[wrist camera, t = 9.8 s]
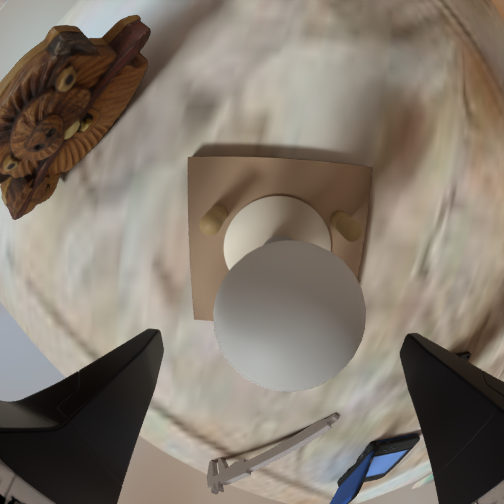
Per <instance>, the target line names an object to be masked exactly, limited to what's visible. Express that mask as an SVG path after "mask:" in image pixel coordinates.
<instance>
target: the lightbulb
mask: <svg viewBox="0 0 504 504" xmlns="http://www.w3.org/2000/svg"><path fill="white" fill-rule="evenodd" d="M213 316H214V331H215V335H216V338H217V341H218V344H219V347H220V349H221V351H222V353H223V355H224V356H225V358H226V360H227V361H228V362H229V363H230V364H231V365H232V366H233V367H234V369H235V370H236V371H237V372H238V373H239V374H240V375H242V376H243V377H245V378H246V379H247V380H249V381H251V382H253V383H255V384H257V385H259V386H261V387H263V388H267V389H270V390H274V391H282V392H295V391H302V390H307V389H310V388H314V387H317V386H319V385H321V384H323V383H325V382H327V381H329V380H330V379H332V378H333V377H335V376H336V375H337V374H338V373H339V372H340V371H341V370H342V369H343V368H344V367H345V366H346V365H347V364H348V363H349V362H350V360H351V359H352V358H353V356H354V354H355V353H356V351H357V349H358V347H359V345H360V343H361V341H362V337H363V334H364V330H365V319H366V307H365V302H364V297H363V293H362V288H361V286H360V284H359V282H358V280H357V278H356V276H355V275H354V273H353V272H352V271H351V269H350V268H349V267H348V266H347V265H346V263H345V262H344V261H343V260H342V259H340V258H339V257H338V256H336V255H335V254H334V253H332V252H330V251H328V250H326V249H324V248H322V247H320V246H318V245H315V244H312V243H308V242H304V241H294V240H292V239H291V238H289V237H287V236H274V237H272V238H270V239H268V240H267V241H266V242H265V243H264V245H263V246H261V247H258V248H256V249H255V250H253V251H251V252H249V253H248V254H246V255H245V256H244V257H243V258H242V259H240V260H239V261H238V262H237V263H236V264H235V265H234V266H233V267H232V268H231V269H230V270H229V272H228V273H227V275H226V276H225V277H224V279H223V280H222V283H221V285H220V287H219V290H218V292H217V295H216V298H215V304H214V309H213Z"/></svg>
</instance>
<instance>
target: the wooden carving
mask: <svg viewBox="0 0 504 504" xmlns="http://www.w3.org/2000/svg"><path fill="white" fill-rule="evenodd" d="M140 20H141V18H140V17H139V16H138V15H133V16H128V17H126V18H123V19H121V20H120V21H118V22H117V23H116V24H115V25H114V26H113V27H112V28H111V29H110V30H109V31H108V32H107V33H106V34H105V35H104V36H103V37H102V38H87V37H86V36H85V35H84V34H83V33H82V31H81V30H80V29H79V28H78V27H76V26H68V25H60V26H54V27H53V28H52V29H51V30H50V31H49V32H48V34H47V36H46V38H45V39H44V40H43V41H42V42H41V43H39V44H38V45H37V46H35V47H34V48H33V49H31V50H30V51H29V52H28V53H27V54H25V55H24V56H23V57H22V58H21V59H20V60H19V61H18V62H17V63H16V64H15V66H14V67H13V68H12V69H11V71H10V72H9V73H8V74H7V75H6V76H5V77H4V78H3V79H2V81H1V82H0V184H1V186H0V187H1V191H2V199H3V202H4V204H5V205H6V206H7V208H8V209H9V212H10V214H11V216H12V218H13V219H14V220H16V219H19V218H21V217H22V216H23V215H25V214H27V213H29V212H30V211H32V210H33V209H34V208H35V206H36V205H37V204H41V203H42V202H44V201H46V200H47V199H49V198H50V197H51V195H52V194H53V192H54V190H55V189H56V186H57V183H58V181H59V177H60V174H61V172H67V171H69V170H70V169H71V168H72V167H73V166H75V165H76V164H77V163H78V162H79V161H80V160H81V159H83V158H84V156H85V155H86V154H87V153H88V152H89V151H90V150H91V149H92V148H93V147H94V146H95V145H96V144H97V143H98V142H99V141H100V139H101V138H102V137H103V135H104V134H105V133H106V132H107V131H108V129H109V128H110V127H111V126H112V125H113V123H114V121H115V120H116V119H117V118H118V116H120V114H121V112H122V111H123V110H124V109H125V107H126V106H127V104H128V102H129V101H130V100H131V98H132V96H133V94H134V93H135V91H136V89H137V87H138V86H139V84H140V82H141V80H142V78H143V76H144V74H145V72H146V70H147V67H148V60H147V59H146V58H145V57H144V56H143V55H142V54H141V53H140V50H141V49H142V48H143V47H144V45H145V43H146V42H147V40H148V38H149V36H150V33H151V31H150V28H149V27H148V26H146V25H145V24H143V23H142V22H141V21H140Z"/></svg>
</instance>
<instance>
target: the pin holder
mask: <svg viewBox="0 0 504 504" xmlns="http://www.w3.org/2000/svg"><path fill="white" fill-rule="evenodd" d="M371 177H372V167H367V166H359V165H351V164H343V163H334V162H324V161H313V160H301V159H286V158H267V157H232V156H203V157H188V222H189V248H190V268H191V284H192V298H193V310H194V319H196V320H208V321H214V316H213V309H214V304H215V298H216V295H217V292H218V290H219V287H220V285H221V283H222V280H223V279H224V277H225V276H226V275H227V273H228V272H229V270H230V269H231V268H232V267H233V266H234V265H235V264H236V263H237V262H238V261H239V260H240V259H242V258H243V257H244V256H245V255H246V254H248V253H249V252H251V251H253V250H255V249H256V248H258V247H261V246H263V245H264V243H265V242H266V241H267V240H268V239H270V238H272V237H274V236H287V237H289V238H291V239H292V240H294V241H304V242H308V243H312V244H315V245H318V246H320V247H322V248H324V249H326V250H328V251H330V252H332V253H334V254H335V255H336V256H338V257H339V258H340V259H342V260H343V261H344V262H345V263H346V265H347V266H348V267H349V268H350V269H351V271H352V272H353V273H354V275H355V276H356V278H358V272H359V267H360V261H361V255H362V249H363V243H364V237H365V230H366V223H367V215H368V207H369V198H370V188H371Z"/></svg>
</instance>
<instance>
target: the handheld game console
mask: <svg viewBox="0 0 504 504" xmlns="http://www.w3.org/2000/svg"><path fill="white" fill-rule="evenodd" d="M419 440H420V437H419V435H418V434H412V435H407V436H403V437H398V438H397V437H396V438H392V439H387V440H381V441H372V442H370V443H369V444H368V446H367V447H366V449H365V450H364V451H363V453H362V454H361V455H360V456H359V458H358V459H357V462H356V464H355V465H353V466H352V467H351V468H350V469H348V470H347V472H346V473H345V474H344V475H343V476H342V477H341V478H340V479H339V480H338V482H337V483H338V487H339V488H338V490H337V491H336V493H335V495H334V497H333V499H332V500H331V502H330V504H348V503H349V502H351V501H352V500H353V499H354V498H355V497H356V496H357V494H358V493H359V491H360V489H361V487H362V485H363V482H367V481H372V480H377V479H380V478H382V477H384V476H385V475H386V474H387V473H388V472H390V470H392V469H393V468H394V467H395V466H396V465H397V464H398V463H399V462H400V461H401V460H402V459H403V458H404V457H405V456H406V455H407V453H408V452H409V451H410V450H411V449H412V448H413V447H414V446H415V445H416V443H417V442H418V441H419Z"/></svg>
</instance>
